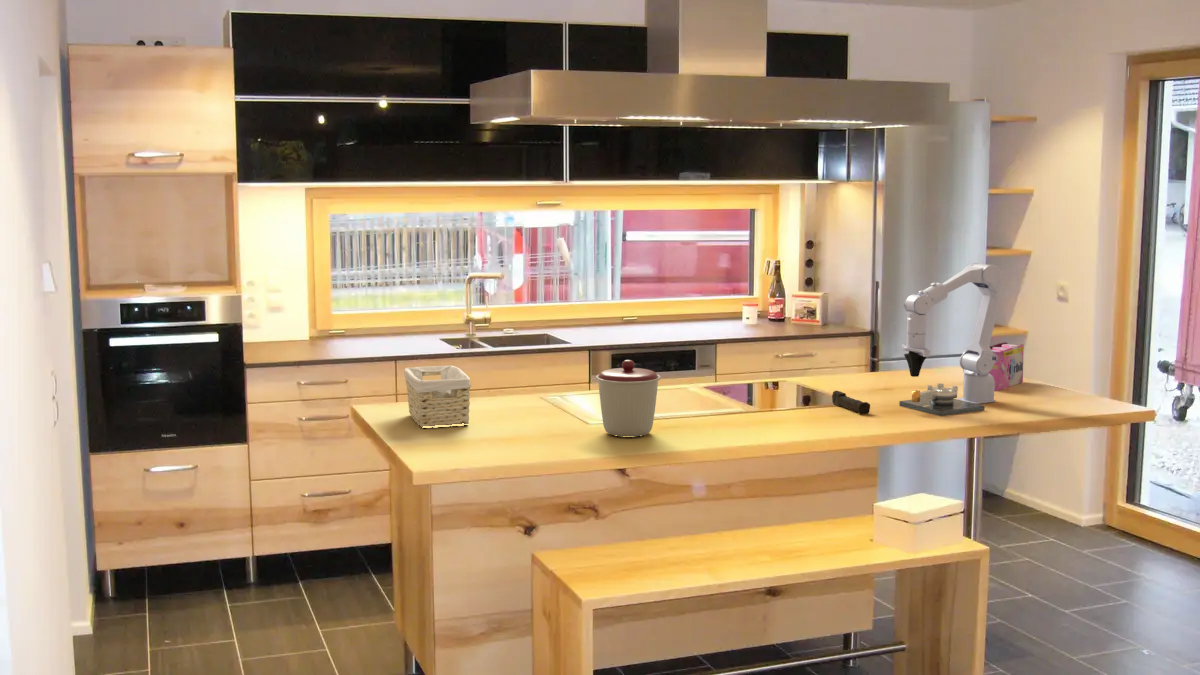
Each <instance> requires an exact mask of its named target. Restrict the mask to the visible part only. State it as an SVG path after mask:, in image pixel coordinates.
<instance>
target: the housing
mask: <svg viewBox="0 0 1200 675" xmlns="http://www.w3.org/2000/svg"><path fill="white" fill-rule="evenodd" d="M957 399H958V398H953V399H938V398H936V401H932V399H927V400H922V401H920V402H912V399H906V400H905V399H904V400H899V403H898V404H899V406H900V407H903V408H906V409H910V410H915V411H919V412H922V413H927V414H931V415H935V416H938V417H944V416H953V415H960V414H968V413H976V412H983V411H985V408H986V406H985V405H984V404H983V405H982V404H975V403H970V402H966V401H962V400H957Z"/></svg>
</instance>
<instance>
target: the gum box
mask: <svg viewBox="0 0 1200 675" xmlns="http://www.w3.org/2000/svg"><path fill="white" fill-rule="evenodd" d="M989 347H990V349H991V350H992V352H993V357H992V361H993V367H992V370H991V371H990V372H989V374H991V375H992V376H993V378H994V381H995V387H994V392H998V391H1001V390H1004V389H1007V388H1010V387H1012V386H1013V387H1014V386H1016V385H1019V384H1020V383H1023V382H1024V381H1023V380H1024V349H1025V348H1024V343H1021V344H1020V345H1016V344H1008V342H999V343H997V344H993V345H989ZM978 354H979V353H978Z"/></svg>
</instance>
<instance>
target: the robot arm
mask: <svg viewBox="0 0 1200 675" xmlns="http://www.w3.org/2000/svg"><path fill="white" fill-rule="evenodd" d="M1003 274H1004V273H1002V271H1001V269H1000V268H999V267H998V266H997V265H995V264H985V263H979V262H974V263H971V264H969V265H967V266H965V267H964V268H963V270H961V271H959V272H958V273H956V274H954V275H953V276H952V277H950V278H948V279H947V280H945V281H944V282H943V283H940V282H932V283H930V286H929V287H927V288H925V289H923V290H919V291H917V292H918V293H917V294H911V295H908V297H906V300H905V301H904V303H903V308H904V310H905V311H906V317H907V319H906V320H907V321H906V341H905V342H906V343H903V344H901V351H902V352H903V351H906V352H908V353H904V354H903V356H904V358H905V360H906V362H907V365H908V370H909V374H910V376H911V377H912V378H916V377H917V378H918V377H919V376H920V373H921V370H922V366H923V364H924V362H925V360H926V359H927V358H929V357H931V350H930V349H928V348H927V347H926V339H927V338H926V333H927V314H928V313H929V312H930V310H931V308H932V307H934V306H936V305H937V304H940V303H941V302H942V301H944V300H947V298H948V295H949V293H950V292H953V291H955V290H956V289H959V288H960V287H962V286H965V285H967V284H968V283H972V284H973V285H974V286H976V287H977V288H978V289H979V290H980V292H981V293H982V297H981V301H980V306H979V310H978V312H977V313H978V314H977V317H976V323H975V326H974V330H973V335H972V339H971V342H970V343H968V345H966V346H965V348H964V351H963V353H962V354H961V356H960V358H959V366H960V368H961V369H962V372H963V387H962V397H960V398H959V397H957V398H956V399H957V400H962V401H966V402H970V403H975V404H979V405H981V404H987V403H988V404H989V403H994V402H995V403H996V401H997V400H996V399H995V391H994V387H995V381H994V378H993V376H992V375H991V374H989V372H990V371H991V370H992V367H993V361H992V357H993V352H992V350H991V349H990V347H989V346H990V343H991V340H992V337H993V333H994V328H995V324H996V319H997V316H998V311H999V307H1000V303H1001V300H1002V295H1003V287H1002V286H1003V285H1002V280H1003ZM978 353H979V354H978Z"/></svg>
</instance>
